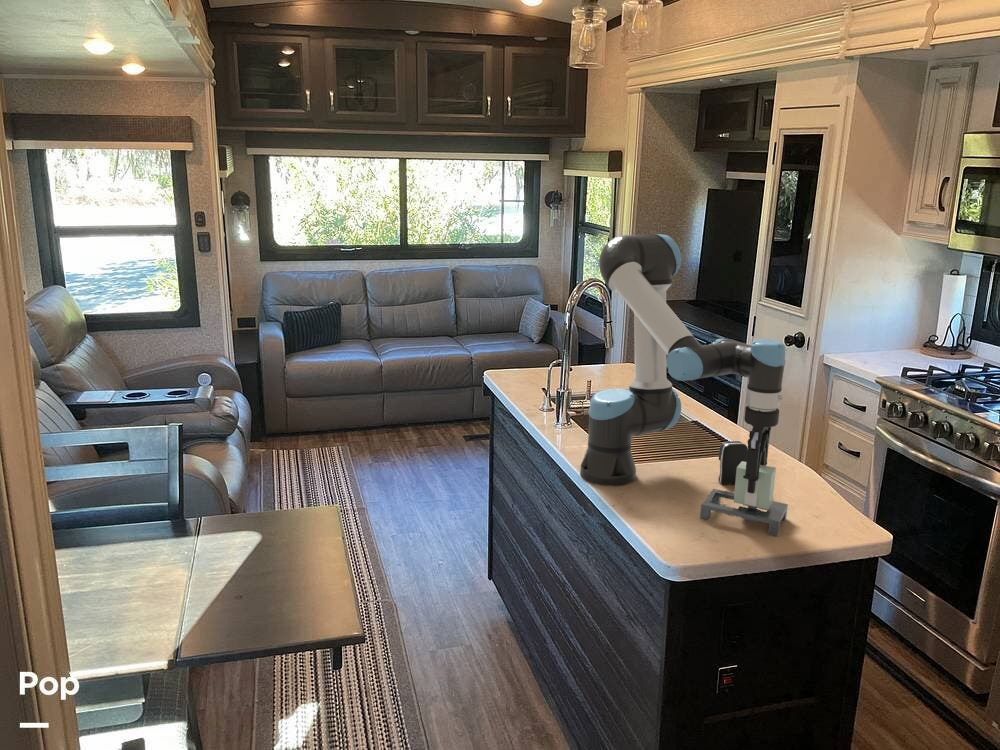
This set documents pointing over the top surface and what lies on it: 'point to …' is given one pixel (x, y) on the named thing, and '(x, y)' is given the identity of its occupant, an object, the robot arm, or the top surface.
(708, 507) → the keyhole plate
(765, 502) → the pale green boxy piece
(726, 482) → the battery charger
